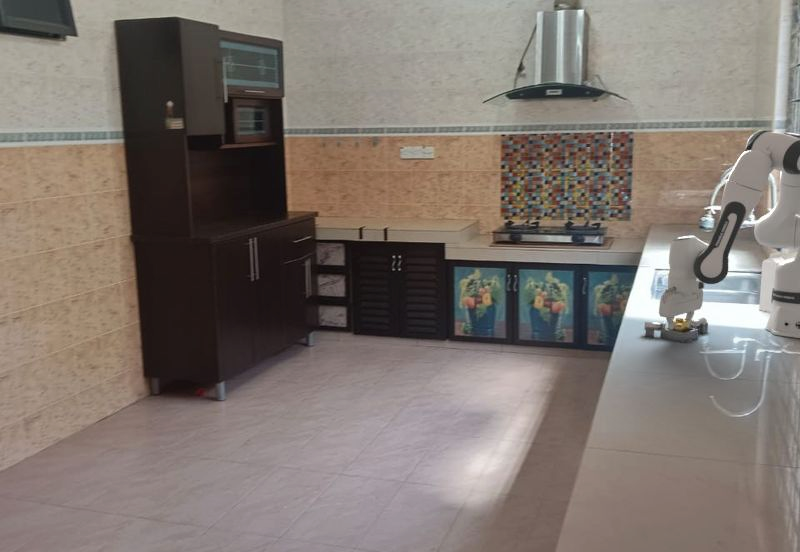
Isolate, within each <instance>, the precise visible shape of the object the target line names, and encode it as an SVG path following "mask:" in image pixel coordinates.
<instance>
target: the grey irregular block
mask: <svg viewBox="0 0 800 552" xmlns="http://www.w3.org/2000/svg"><path fill="white" fill-rule="evenodd" d="M707 320H708V319H706V318H705V317H701V318H697V319H692V321H691V324H689V328H694V329H698V334H705V333H708V330H709V329H708V328H709V322H708V321H707Z"/></svg>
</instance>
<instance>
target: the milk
mask: <svg viewBox="0 0 800 552" xmlns="http://www.w3.org/2000/svg"><path fill="white" fill-rule="evenodd" d="M781 254H782V253H781V252H780V251H779V252H771V253H770V254H769V257H768V258H766V259H764V260H762V265H761V278H760V279H761V280H760V293H759V294H760V295H759V305H758V306H759V308H758V310H759V311H760V310H762V311H761V312H765V311H766V313H769V312H771V307H772V303H771V299H772V289H773V288H774V280H775V268H776V266H777V265H778V264H779V263H780V262H782V261H784V260H785V259H784V257H782V256H781Z"/></svg>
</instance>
